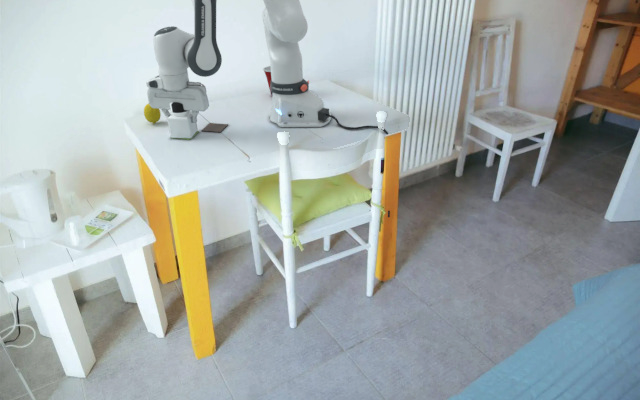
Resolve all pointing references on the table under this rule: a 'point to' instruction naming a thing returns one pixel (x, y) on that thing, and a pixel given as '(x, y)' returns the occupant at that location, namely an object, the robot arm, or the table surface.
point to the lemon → (151, 114)
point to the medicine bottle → (181, 122)
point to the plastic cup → (268, 75)
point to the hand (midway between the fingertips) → (182, 121)
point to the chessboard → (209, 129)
